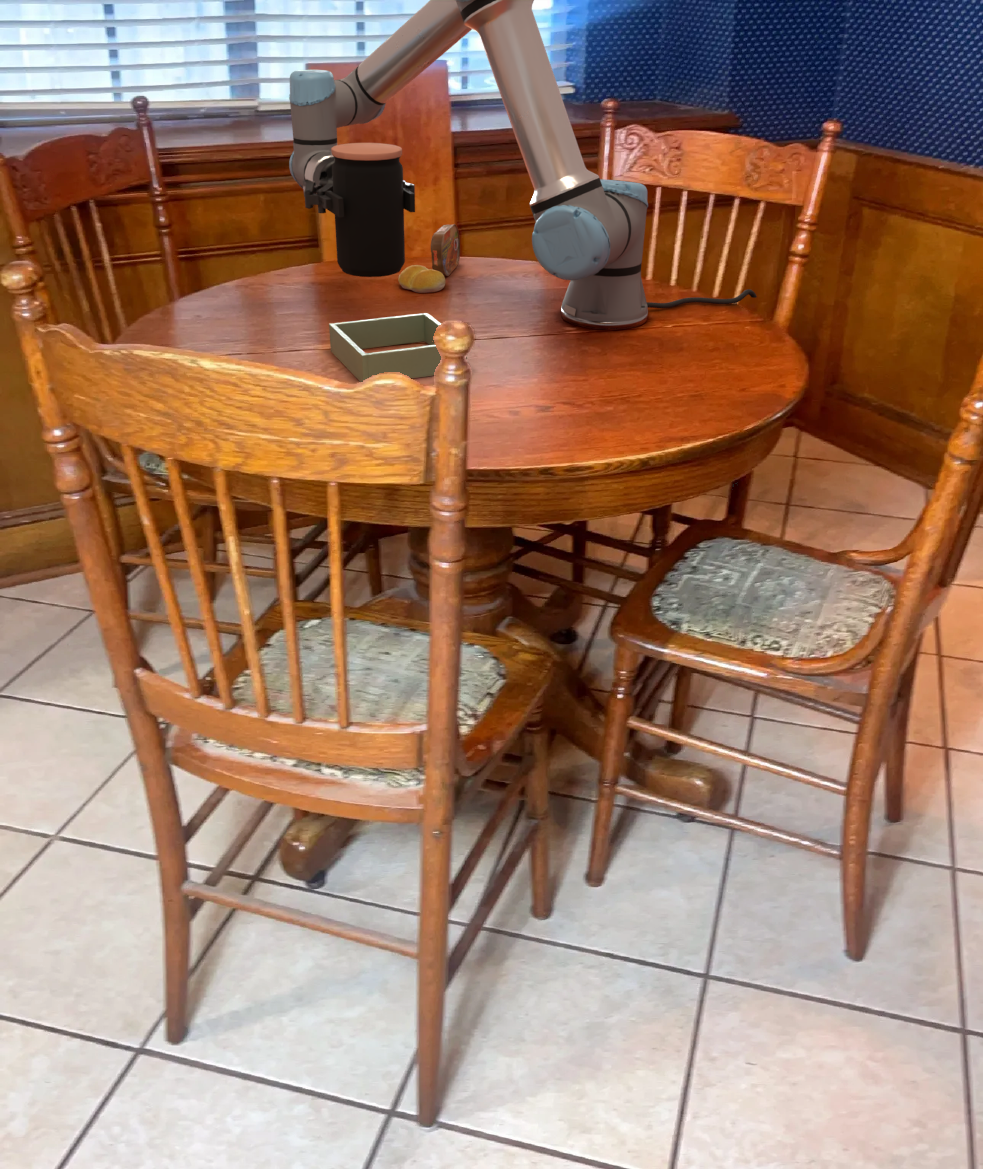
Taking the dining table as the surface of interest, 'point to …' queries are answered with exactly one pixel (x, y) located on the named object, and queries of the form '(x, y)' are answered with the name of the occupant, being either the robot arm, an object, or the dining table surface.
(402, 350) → the tray
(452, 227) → the tin
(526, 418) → the dining table surface
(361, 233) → the coffee jar
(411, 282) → the bread roll
